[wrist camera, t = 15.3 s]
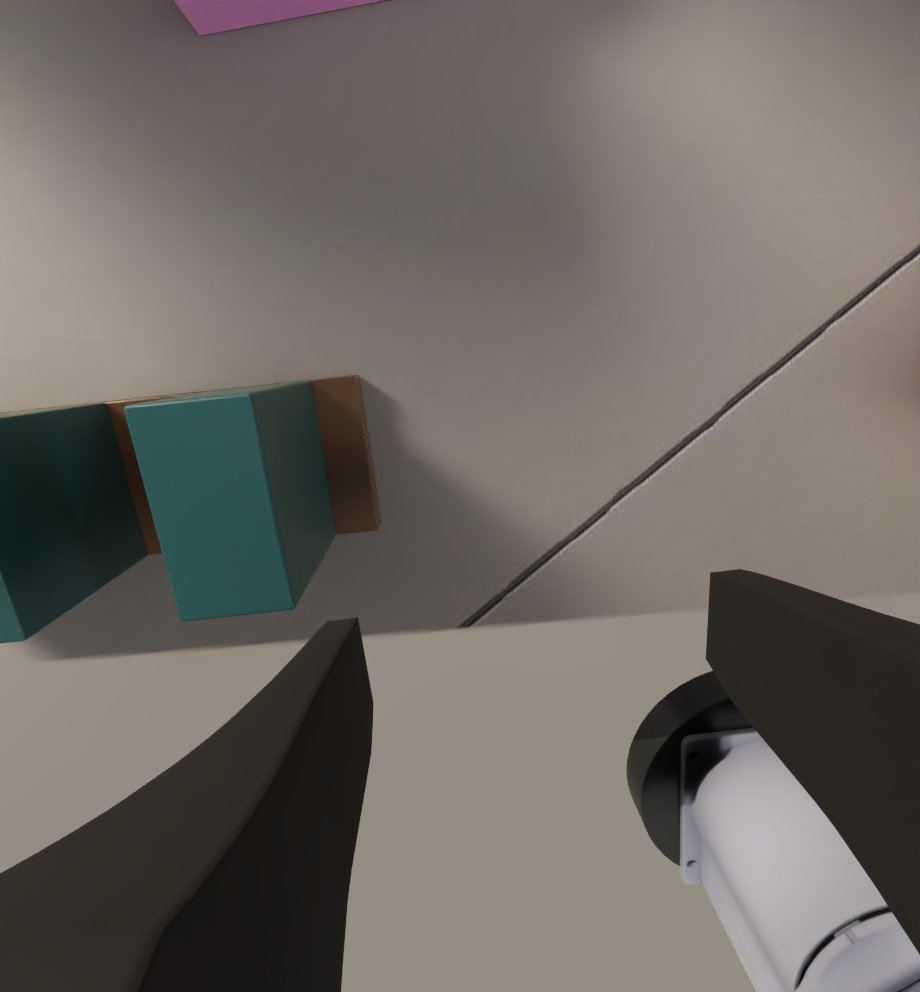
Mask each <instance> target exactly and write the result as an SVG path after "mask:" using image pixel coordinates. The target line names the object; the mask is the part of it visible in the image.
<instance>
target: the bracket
mask: <svg viewBox="0 0 920 992" xmlns="http://www.w3.org/2000/svg"><path fill="white" fill-rule="evenodd" d="M379 1H385V0H174V2H175V3H176V4H177V6H178V7H179V8H180V10H181V11H182V12H183V14H184V15H185V16H186V18H187V19H188V20H189V22H190V23H191V24H192V26H193V27H194V28H195V30H196V31H197V32H198V34H199V35H200V36H202V35H207V34H212V33H217V32H223V31H228V30H233V29H238V28H243V27H249V26H254V25H259V24H264V23H270V22H275V21H280V20H285V19H290V18H296V17H301V16H306V15H311V14H317V13H322V12H327V11H332V10H338V9H343V8H348V7H353V6H358V5H364V4H369V3H374V2H379Z"/></svg>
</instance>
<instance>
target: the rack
mask: <svg viewBox="0 0 920 992" xmlns="http://www.w3.org/2000/svg"><path fill="white" fill-rule="evenodd" d="M308 381H310V383H311V387H312V393H313V399H314V405H315V411H316V416H317V422H318V428H319V434H320V440H321V445H322V451H323V457H324V463H325V469H326V474H327V480H328V486H329V492H330V498H331V504H332V509H333V515H334V521H335V527H336V535H337V534H346V533H355V532H364V531H373V530H378V529H379V527H380V524H381V520H380V514H379V507H378V500H377V493H376V487H375V480H374V473H373V466H372V460H371V453H370V446H369V439H368V433H367V426H366V419H365V412H364V406H363V399H362V392H361V385H360V378H359V376H358V375H355V376H345V377H336V378H326V379H316V380H308ZM221 390H222V389H221ZM212 391H216V390H212ZM204 392H210V391H202V392H193V393H183V394H174V395H164V396H155V397H145V398H136V399H126V400H117V401H107V402H98V403H88V404H79V405H69V406H60V407H50V408H41V409H31V410H22V411H12V412H3V413H0V643H8V642H17V641H25V640H27V639H28V638H30V637H31V636H32V635H34V634H35V633H37V632H38V631H40V630H41V629H42V628H44V627H45V626H47V625H48V624H50V623H51V622H53V621H54V620H55V619H57V618H58V617H60V616H61V615H63V614H64V613H65V612H67V611H68V610H70V609H71V608H73V607H74V606H76V605H77V604H78V603H80V602H81V601H83V600H84V599H86V598H87V597H88V596H90V595H91V594H93V593H94V592H96V591H97V590H99V589H100V588H101V587H103V586H104V585H106V584H107V583H109V582H110V581H111V580H113V579H114V578H116V577H117V576H119V575H120V574H122V573H123V572H124V571H126V570H127V569H129V568H130V567H132V566H133V565H134V564H136V563H137V562H139V561H140V560H142V559H143V558H145V557H146V556H147V555H153V554H162V550H161V547H160V543H159V539H158V536H157V532H156V528H155V524H154V521H153V517H152V513H151V509H150V506H149V502H148V498H147V494H146V491H145V487H144V483H143V479H142V476H141V472H140V468H139V464H138V461H137V457H136V453H135V449H134V446H133V442H132V438H131V435H130V431H129V427H128V423H127V420H126V416H125V412H124V407H125V406H127V405H131V404H137V403H143V402H149V401H155V400H161V399H167V398H173V397H179V396H186V395H192V394H198V393H204Z"/></svg>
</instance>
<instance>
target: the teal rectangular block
mask: <svg viewBox="0 0 920 992" xmlns="http://www.w3.org/2000/svg"><path fill="white" fill-rule="evenodd" d="M124 412H125V416H126V420H127V423H128V427H129V431H130V435H131V438H132V442H133V446H134V449H135V453H136V457H137V461H138V464H139V468H140V472H141V476H142V479H143V483H144V487H145V491H146V494H147V498H148V502H149V506H150V509H151V513H152V517H153V521H154V524H155V528H156V532H157V536H158V539H159V543H160V547H161V550H162V554H163V558H164V562H165V565H166V569H167V573H168V577H169V580H170V584H171V588H172V592H173V595H174V599H175V603H176V607H177V610H178V614H179V618H180V620H181V621H183V622H185V621H194V620H203V619H212V618H221V617H230V616H239V615H248V614H257V613H266V612H275V611H284V610H292V609H294V608H295V607H296V605H297V603H298V602H299V600H300V598H301V596H302V594H303V593H304V591H305V589H306V587H307V585H308V584H309V582H310V580H311V578H312V577H313V575H314V573H315V571H316V569H317V568H318V566H319V564H320V562H321V561H322V559H323V557H324V555H325V553H326V552H327V550H328V548H329V546H330V544H331V543H332V541H333V539H334V537H335V536H336V527H335V521H334V515H333V509H332V504H331V498H330V492H329V486H328V480H327V474H326V469H325V463H324V457H323V451H322V445H321V440H320V434H319V428H318V422H317V416H316V411H315V405H314V399H313V393H312V387H311V383H310V381H308V380H306V381H296V382H287V383H277V384H268V385H258V386H249V387H239V388H230V389H222V390H216V391H210V392H204V393H198V394H192V395H186V396H179V397H173V398H167V399H161V400H155V401H149V402H143V403H137V404H131V405H127V406H125V407H124Z"/></svg>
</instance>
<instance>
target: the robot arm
mask: <svg viewBox="0 0 920 992" xmlns="http://www.w3.org/2000/svg"><path fill="white" fill-rule="evenodd" d="M706 650H707V651H706V659H707V661H708V663H709V665H710V666H711V668H712V670H713V671H714V673H715V675H716V676H717V678H718V680H719V681H720V683H721V685H722V686H723V688H724V689H725V691H726V692H727V694H728V695H729V697H730V698H731V700H732V702H733V703H734V704H735V705H736V707H737V708H738V709H739V710H740V712H741V713H742V714H743V715H744V717H745V718H746V719H747V720H748V721H749V723H750V724H751V725H752V726H753V728H745V729H736V730H727V731H719V732H710V733H701V734H693V735H688V736H686V737H685V738H684V739H683V740H682V742H681V792H680V877H681V879H682V881H683V882H684V883H685V884H688V885H694V884H701V883H702V885H703V887H704V889H705V890H706V892H707V894H708V896H709V899H710V901H711V902H712V905H713V906H714V908H715V911H716V913H717V915H718V917H719V919H720V921H721V923H722V925H723V927H724V929H725V930H726V933H727V934H728V937H729V939H730V940H731V943H732V945H733V947H734V949H735V951H736V953H737V955H738V957H739V959H740V961H741V963H742V965H743V967H744V969H745V971H746V973H747V975H748V977H749V979H750V981H751V982H752V985H753V986H754V989H755V991H756V992H920V625H919V624H916V623H912V622H909V621H906V620H902V619H899V618H895V617H892V616H889V615H885V614H882V613H878V612H875V611H872V610H869V609H866V608H863V607H860V606H857V605H854V604H851V603H847V602H845V601H842V600H839V599H836V598H833V597H830V596H827V595H824V594H821V593H818V592H815V591H812V590H809V589H806V588H803V587H800V586H797V585H794V584H791V583H788V582H785V581H782V580H778V579H775V578H772V577H769V576H765V575H762V574H758V573H755V572H751V571H746V570H741V569H737V570H729V571H721V572H713V573H710V592H709V611H708V630H707V649H706ZM372 726H373V699H372V693H371V688H370V682H369V676H368V671H367V666H366V660H365V654H364V648H363V643H362V637H361V632H360V626H359V621H358V618H350V619H342V620H334V621H327V622H326V623H325V624H324V625H323V626H322V627H321V628H320V629H319V630H318V631H317V632H316V634H315V635H314V636H313V637H312V638H311V639H310V640H309V641H308V642H307V643H306V645H305V646H304V647H303V648H302V649H301V650H300V651H299V652H298V653H297V654H296V656H294V658H293V659H292V660H291V661H290V662H289V663H288V664H287V665H286V666H285V667H284V668H283V669H282V670H281V671H280V672H279V673H278V675H276V677H274V678H273V680H272V681H270V683H268V684H267V685H266V686H265V687H264V688H263V689H262V690H261V691H260V692H259V693H258V694H257V695H256V696H255V697H254V698H253V699H252V700H250V701H249V702H248V703H247V704H246V705H245V706H244V707H243V708H242V709H241V710H240V711H239V712H238V713H237V714H236V715H235V716H234V717H232V718H231V719H230V720H229V721H228V722H227V723H226V724H224V725H223V726H222V727H221V728H220V729H218V730H217V731H216V732H215V733H214V734H213V735H211V736H210V737H209V738H208V739H206V740H205V741H204V742H203V743H201V744H200V745H199V746H198V747H196V748H195V749H194V750H192V751H191V752H190V753H189V754H188V755H186V756H185V757H184V758H182V759H181V760H180V761H178V762H177V763H176V764H174V765H173V766H171V767H170V768H169V769H167V770H166V771H164V772H163V773H162V774H160V775H158V776H157V777H156V778H154V779H153V780H151V781H150V782H149V783H147V784H146V785H144V786H143V787H141V788H140V789H138V790H137V791H136V792H134V793H133V794H131V795H130V796H128V797H127V798H125V799H124V800H122V801H121V802H120V803H118V804H117V805H115V806H114V807H112V808H110V809H109V810H108V811H106V812H104V813H103V814H101V815H99V816H98V817H96V818H95V819H93V820H91V821H90V822H88V823H87V824H85V825H83V826H82V827H80V828H79V829H77V830H75V831H74V832H72V833H70V834H68V835H67V836H65V837H63V838H62V839H60V840H59V841H57V842H55V843H53V844H51V845H50V846H48V847H46V848H45V849H43V850H41V851H40V852H38V853H37V854H34V855H33V856H31V857H29V858H28V859H26V860H24V861H22V862H20V863H18V864H17V865H15V866H13V867H11V868H9V869H8V870H6V871H4V872H2V873H0V992H341V981H342V966H343V952H344V940H345V928H346V915H347V914H346V913H347V902H348V893H349V885H350V878H351V869H352V864H353V858H354V852H355V846H356V840H357V834H358V828H359V822H360V816H361V810H362V805H363V799H364V792H365V786H366V781H367V774H368V768H369V762H370V756H371V746H372ZM692 752H694V753H693V754H691V755H689V754H690V753H692Z"/></svg>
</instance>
